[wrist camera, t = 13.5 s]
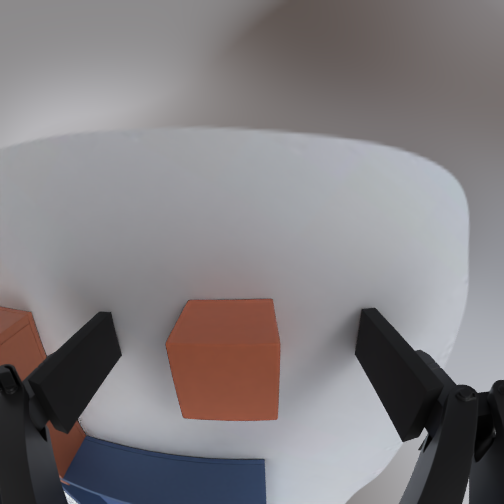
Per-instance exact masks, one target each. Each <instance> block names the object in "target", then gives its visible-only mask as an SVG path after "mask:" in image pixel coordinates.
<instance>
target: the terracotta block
mask: <svg viewBox="0 0 504 504" xmlns="http://www.w3.org/2000/svg"><path fill="white" fill-rule="evenodd" d="M166 349H167V354H168V359H169V364H170V368H171V372H172V377H173V381H174V385H175V389H176V393H177V397H178V401H179V405H180V408H181V412H182V416H183V418H188V419H201V420H224V421H259V420H277V418H278V403H279V377H280V339H279V333H278V327H277V322H276V316H275V310H274V304H273V300H272V299H244V300H188V302H187V303H186V305H185V307H184V309H183V311H182V313H181V315H180V316H179V318H178V320H177V322H176V324H175V326H174V328H173V330H172V332H171V334H170V335H169V337H168V339H167V341H166Z"/></svg>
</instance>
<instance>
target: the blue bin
mask: <svg viewBox="0 0 504 504" xmlns="http://www.w3.org/2000/svg"><path fill="white" fill-rule="evenodd" d="M60 480H63V481H65V482H67V483H69V484H70V485H67V484H65V483H63V482H61V484H62V487H63V490H64V491H65V492H66V493H67V494H68V495H69V496H70V497H72V498H73V499H74V500H75V501H76V502H77V503H78V504H108V503H107V502H106V501H104V500H103V499H102V498H101V497H100V496H102V497H105V498H108V499H111V500H114V501H117V502H120V503H124V504H266V482H265V460H264V459H259V460H231V459H209V458H197V457H186V456H178V455H170V454H164V453H157V452H151V451H146V450H141V449H136V448H131V447H127V446H122V445H118V444H114V443H110V442H107V441H103V440H100V439H96V438H93V437H90V436H86V437H85V439H84V440H83V442H82V444H81V446H80V448H79V449H78V451H77V453H76V455H75V457H74V458H73V460H72V462H71V464H70V466H69V468H68V469H67V471H66V473H65V475H64V477H63V479H62V478H60Z"/></svg>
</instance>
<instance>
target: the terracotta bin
mask: <svg viewBox="0 0 504 504" xmlns="http://www.w3.org/2000/svg"><path fill="white" fill-rule="evenodd" d="M46 358H47V356H46V354H45V351H44V349H43V346H42V343H41V341H40V338H39V335H38V332H37V329H36V326H35V323H34V320H33V316H32V313H31V312H28V311H21V310H16V309H10V308H5V307H0V366H1V365H4V364H11V365H13V366H14V367H15V368H16V370H17V372H18V375H19V377H20V379H21V381H23V380H24V379H25V378H26V377H27V376H28V375H29V374H30V373H31V372H32V371H33V370H34V369H35V368H36V367H37V368H38V365H39V364H40V363H42V361H43V360H45V359H46ZM46 425H47V427H48V429H49V432H50V438H51V443H52V448H53V453H54V457H55V461H56V465H57V469H58V473H59V477H60V478H62V479H63V477H64V475H65V473H66V471H67V469H68V468H69V466H70V464H71V462H72V460H73V458H74V457H75V455H76V453H77V451H78V449H79V448H80V446H81V444H82V442H83V440H84V439H85V437H86V434H85V433H84V431H83V429H82V428H81V426H80V424H79V423H78V421H76V423H75V424H74V426H73V427H72V429H71V431H70V432H69V434H66V433H63V432H61V431H58V430H56V429H55V428H54V427H53V425H52V424H51V422H50V420H49V421H48V422H47V424H46ZM61 482H63V483H65V484H67V485H70V484H69V483H67V482H65V481H63V480H61Z"/></svg>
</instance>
